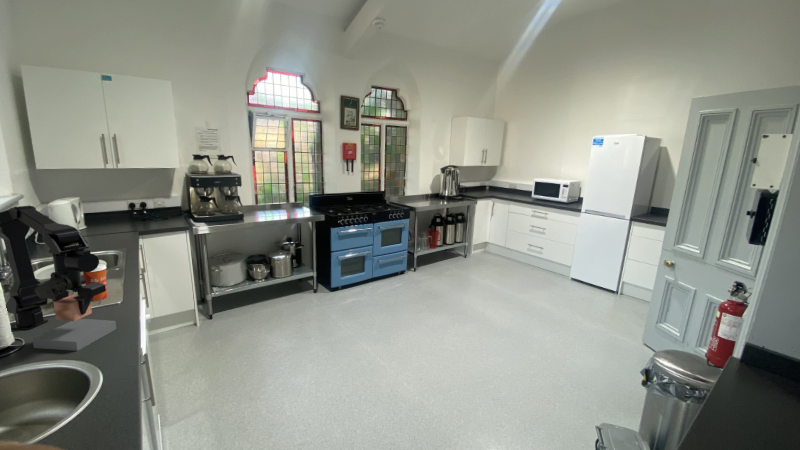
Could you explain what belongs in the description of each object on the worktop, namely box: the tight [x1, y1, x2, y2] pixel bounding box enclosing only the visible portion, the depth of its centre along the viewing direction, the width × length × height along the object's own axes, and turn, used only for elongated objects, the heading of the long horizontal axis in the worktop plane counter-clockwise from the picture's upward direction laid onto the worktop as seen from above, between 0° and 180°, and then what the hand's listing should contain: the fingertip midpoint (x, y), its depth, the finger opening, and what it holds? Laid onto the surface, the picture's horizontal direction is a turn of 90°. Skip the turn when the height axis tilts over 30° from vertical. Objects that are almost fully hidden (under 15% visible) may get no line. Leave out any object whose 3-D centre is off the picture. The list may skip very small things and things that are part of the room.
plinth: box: [32, 318, 117, 352], centre depth 113 cm, size 14×14×3 cm
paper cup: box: [82, 263, 108, 302], centre depth 142 cm, size 8×8×14 cm
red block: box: [53, 294, 93, 322], centre depth 111 cm, size 6×6×6 cm
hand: (73, 313), depth 111 cm, fingers closed on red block, 6 cm apart
